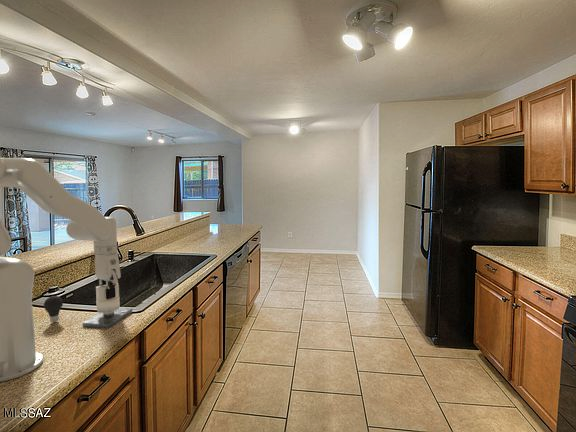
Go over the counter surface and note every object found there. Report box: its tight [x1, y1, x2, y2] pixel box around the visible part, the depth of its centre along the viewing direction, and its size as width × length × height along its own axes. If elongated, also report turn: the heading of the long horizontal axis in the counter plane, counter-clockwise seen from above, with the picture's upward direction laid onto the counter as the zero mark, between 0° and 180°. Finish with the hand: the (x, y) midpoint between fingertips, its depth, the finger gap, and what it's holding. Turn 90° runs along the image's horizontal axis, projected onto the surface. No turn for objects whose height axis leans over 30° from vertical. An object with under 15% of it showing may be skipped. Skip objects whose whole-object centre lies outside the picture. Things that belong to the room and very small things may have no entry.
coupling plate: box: [82, 307, 133, 329], centre depth 116 cm, size 14×10×4 cm
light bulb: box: [43, 295, 64, 323], centre depth 112 cm, size 6×6×10 cm
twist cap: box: [95, 282, 121, 313], centre depth 115 cm, size 8×8×9 cm
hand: (108, 296), depth 115 cm, fingers closed on twist cap, 3 cm apart
